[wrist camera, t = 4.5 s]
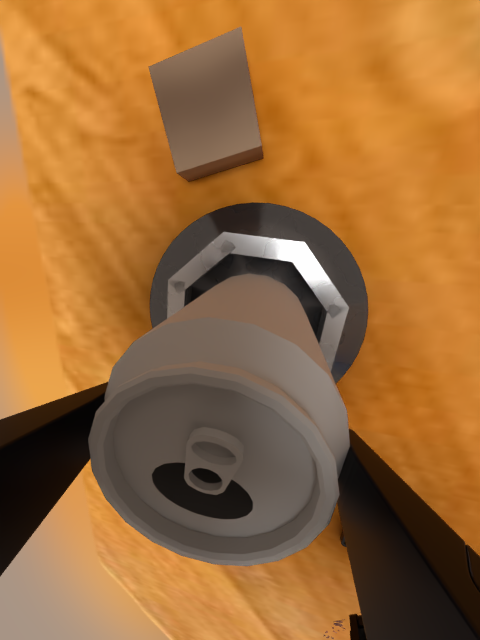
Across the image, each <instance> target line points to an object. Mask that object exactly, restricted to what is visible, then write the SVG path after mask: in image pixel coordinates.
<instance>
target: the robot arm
mask: <svg viewBox="0 0 480 640" xmlns="http://www.w3.org/2000/svg"><path fill="white" fill-rule="evenodd" d="M107 386H108V382H106V383H104V384H101V385H98V386H95V387H92V388H89V389H86V390H84V391H81V392H78V393H75V394H72V395H69V396H66V397H64V398H61V399H58V400H55V401H52V402H49V403H46V404H44V405H41V406H38V407H35V408H32V409H29V410H26V411H24V412H21V413H18V414H15V415H12V416H9V417H7V418H4V419H1V420H0V576H1V575H2V573H3V572H4V571H5V569H6V568H7V567H8V566H9V564H10V563H11V561H12V560H13V559H14V558H15V556H16V555H17V554H18V552H19V551H20V550H21V549H22V547H23V546H24V545H25V543H26V542H27V540H28V539H29V538H30V537H31V536H32V534H33V533H34V531H35V530H36V529H37V528H38V526H39V525H40V524H41V522H42V521H43V519H45V517H46V516H47V515H48V513H49V512H50V511H51V509H52V508H53V507H54V506H55V504H56V503H57V502H58V500H59V499H60V498H61V496H62V495H63V494H64V492H65V491H66V490H67V488H68V487H69V486H70V485H71V483H72V482H73V481H74V479H75V478H76V477H77V475H78V474H79V473H80V472H81V470H82V469H83V468H84V466H85V465H86V464H87V462H88V461H89V460H90V450H89V442H88V438H89V435H90V431H91V427H92V424H93V420H94V417H95V413H96V411H97V410H98V409H99V407H100V406H101V405H102V404H103V403H104V402H105V399H104V397H105V393H106V389H107ZM349 440H350V447H349V450H348V453H347V456H346V458H345V461H344V464H343V467H342V470H341V473H340V476H339V478H338V487H339V497H338V500H337V504H338V509H339V514H340V519H341V524H342V528H343V532H342V535H341V537H340V539H341V544H342V545H343V546H345V547H347V551H348V555H349V560H350V565H351V569H352V574H353V578H354V583H355V587H356V592H357V597H358V601H359V606H360V610H361V615H359V616H358V615H357V614H351V615H349V617H350V627H351V631H350V638H351V640H480V556H479V555H478V554H477V553H476V552H475V551H474V550H473V549H472V548H471V547H470V546H469V545H465V542H464V540H463V539H462V538H461V537H460V536H459V535H458V534H457V533H456V532H455V531H454V530H453V529H452V528H451V527H450V526H449V525H448V524H447V523H446V522H445V521H444V520H442V519H441V518H440V517H439V516H438V515H437V514H436V513H435V512H434V511H433V510H432V509H431V508H430V507H429V506H428V505H427V504H426V503H425V502H424V501H423V500H422V499H421V498H420V497H419V496H418V495H417V494H416V493H415V492H414V491H413V490H412V489H411V488H410V487H409V486H408V485H407V484H406V483H405V482H404V481H403V480H402V479H401V478H400V477H399V476H398V475H397V474H396V473H395V472H394V471H393V470H392V469H391V468H390V467H389V466H388V465H387V464H386V463H385V462H384V461H383V460H382V459H381V458H380V457H379V456H378V455H377V454H376V453H375V452H374V451H373V450H372V449H371V448H370V447H369V446H368V445H367V444H366V443H365V442H364V441H363V440H362V439H361V438H360V437H359V436H358V435H357V434H356V433H355V432H354V431H353V430H351V429H349Z"/></svg>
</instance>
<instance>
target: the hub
mask: <svg viewBox="0 0 480 640" xmlns="http://www.w3.org/2000/svg"><path fill="white" fill-rule="evenodd" d="M248 273H249V274H257V275H264V276H269V277H271V278H273V279H275V280H277V281H279V282H281V283H283V284H285V285H286V286H287V287H288V288H289V289H290V290H291V291H292V292H293V293H294V294H295V295H296V296H297V297H298V299H299V301H300V303H301V305H302V307H303V309H304V311H305V313H306V315H307V318H308V320H309V322H310V325H311V327H312V329H313V332H314V334H315V336H316V339H317V341H318V344H319V346H320V348H321V351H322V353H323V355H324V358H325V360H326V362H327V365H328V367H329V370H330V372H331V374H332V377H333V379H334V381H335V384H336V383H337V382H338V381H339V380H340V379H341V378H342V377H343V375H344V374H345V373H346V371H347V370H348V369H349V368H350V366H351V365H352V363H353V361H354V360H355V358H356V356H357V354H358V352H359V350H360V347H361V345H362V342H363V340H364V336H365V332H366V327H367V319H368V300H367V293H366V288H365V283H364V280H363V277H362V274H361V272H360V269H359V267H358V265H357V263H356V261H355V259H354V257H353V256H352V254H351V252H350V251H349V250H348V248H347V247H346V246H345V244H344V243H343V242H342V241H341V240H340V239H339V238H338V237H337V236H336V235H335V234H334V233H333V232H332V231H331V230H330V229H329V228H327V227H326V226H325V225H323V224H322V223H321V222H319V221H318V220H316V219H314V218H313V217H311V216H309V215H307V214H305V213H303V212H301V211H298V210H295V209H292V208H289V207H286V206H281V205H276V204H270V203H245V204H236V205H232V206H228V207H224V208H221V209H218V210H216V211H213V212H211V213H209V214H206V215H205V216H203V217H201V218H200V219H198V220H196V221H195V222H193V223H192V224H191V225H189V226H188V227H187V228H186V229H184V230H183V231H182V232H181V233H180V234H179V235H178V236H177V237H176V238H175V240H174V241H173V242H172V243H171V244H170V246H169V247H168V249H167V250H166V252H165V253H164V255H163V257H162V259H161V261H160V263H159V265H158V267H157V270H156V273H155V275H154V278H153V283H152V288H151V295H150V315H151V322H152V327H153V328H154V327H156V326H157V325H159V324H160V323H162V322H163V321H165V320H166V319H168V318H169V317H170V316H172V315H173V314H175V313H176V312H178V311H179V310H181V309H182V308H184V307H185V306H186V305H188V304H189V303H191V302H192V301H194V300H195V299H197V298H198V297H200V296H201V295H202V294H204V293H205V292H207V291H208V290H210V289H211V288H213V287H214V286H216V285H217V284H219V283H221V282H223V281H224V280H226V279H228V278H230V277H233V276H238V275H243V274H248Z"/></svg>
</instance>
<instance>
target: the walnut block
mask: <svg viewBox="0 0 480 640" xmlns="http://www.w3.org/2000/svg"><path fill="white" fill-rule="evenodd" d="M149 71H150V74H151V78H152V82H153V86H154V89H155V93H156V97H157V101H158V105H159V108H160V112H161V116H162V120H163V123H164V127H165V131H166V135H167V138H168V142H169V146H170V150H171V153H172V157H173V161H174V165H175V168H176V172H177V174H179V175H180V176H182V177H183V178H184V179H186V180H187V181H192V180H195V179H198V178H202V177H205V176H208V175H211V174H214V173H218V172H221V171H224V170H227V169H230V168H234V167H237V166H240V165H243V164H246V163H250V162H253V161H256V160H259V159H262V158H263V151H262V144H261V139H260V133H259V127H258V121H257V115H256V110H255V104H254V98H253V92H252V86H251V81H250V75H249V69H248V63H247V57H246V51H245V46H244V40H243V34H242V28H241V27H239V28H237V29H235V30H232V31H230V32H228V33H225V34H223V35H221V36H218V37H216V38H214V39H212V40H209V41H207V42H205V43H202V44H200V45H198V46H195V47H193V48H191V49H188V50H186V51H184V52H182V53H179V54H177V55H175V56H172V57H170V58H168V59H165V60H163V61H161V62H158V63H156V64H154V65H152V66H149Z"/></svg>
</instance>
